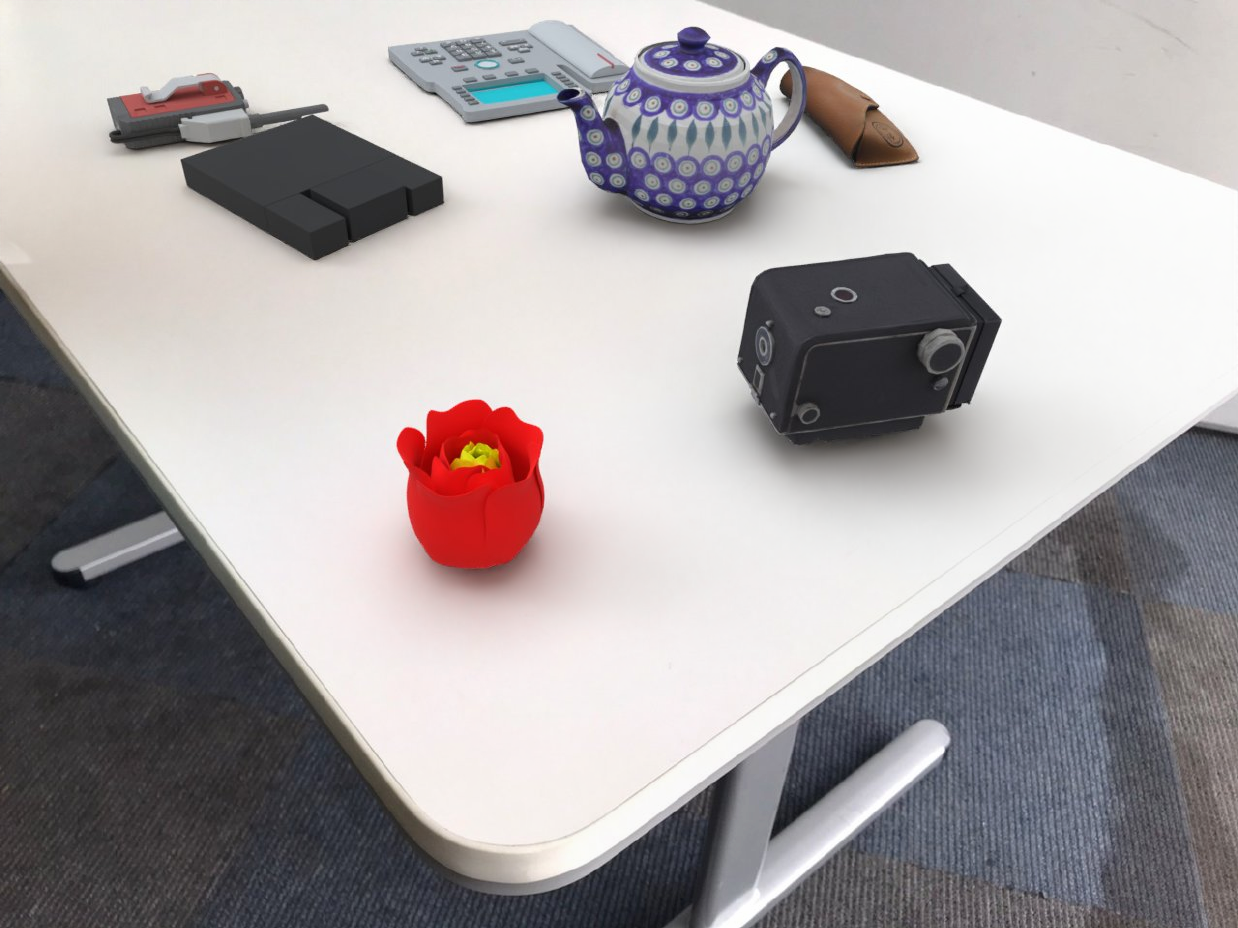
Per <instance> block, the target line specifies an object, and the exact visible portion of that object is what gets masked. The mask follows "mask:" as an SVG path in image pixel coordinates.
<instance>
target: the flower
mask: <svg viewBox="0 0 1238 928" xmlns="http://www.w3.org/2000/svg"><path fill="white" fill-rule="evenodd" d="M425 421H426V423H425V425H426V426H425V427H426V429H425V430H426V431H425V435H424V434H423V433H422V432H421V430H419V429H417V428H415V427H411V426H405V427H404V428H403V429H402V430H401V431H400V432H399V433H398V436H397V439H396V451H397V453H398V454H399V456H400V458H401V460H402V463H403V464H404V466H405V468H406V469H407V470H408V477H407V484H406V506H407V514H408V517H409V522H410V525H411V528H412V530H413V533H414V536H415V537H416V539H417V541H418V542H419V544H420V545H421V546H422V548H423V550H424V552H426V554H427V555H428V557H429V558H430V559H431V560H432V561H433V562H435V563H436V564H438V565H440V566H445V567H451V568H456V569H467V570H468V569H472V570H473V569H474V570H475V569H489V568H492V567H494V566H501V565H505V564H507V563H509V562H511V561H512V560H514V559H515V558H516V557H517V556H518V555H519V553H520V552H522V550H523V549H524V548H525V547H526V545H527V543H529V542H530V540H531V538H532V537H533V535H534V533H535V531H536V530H537V528H538V526H539V524H540V522H541V520H542V515H543V511H544V508H545V499H546V498H545V497H546V496H545V495H546V494H545V485H544V481H543V478H542V475H541V470H540V459H541V453H542V448H543V444H544V440H545V436H544V432H543V430H542V429H541V428H540V426H538V425H535V424H532V423H528V422H525V421H523V419H520V418H519V417H518V415H517V413H516V412H515V410H514V409H513V408H511V407H510V406H500V407H497V408H495V409H494V410H493V409H492V408H491V406H490V405H489V404H488V403H487V401H485V400H483V399H477V398H476V399H473V398H472V399H467V400H463V401H460V402H459V403H457V404H455V405H454V406H452V407H451V408H449V409H447V410H443V411H440V410H435V409H430V410H429V411H428V413H427V414H426V420H425Z"/></svg>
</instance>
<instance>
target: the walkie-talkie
mask: <svg viewBox="0 0 1238 928" xmlns="http://www.w3.org/2000/svg"><path fill="white" fill-rule="evenodd" d="M139 90H140V92H138V93H132V94H131V93H130V94H125V95H119V96H114V97H108V98H106V101H107V105H108V108H109V113H110V115H111V119H112V122H113V125H114V128H115V130H112V131H110V132H109V133H108V134H109V135H108V137H109V138H110V139H109V140H110V142H111V144H114V145H115V144H116V145H121V144H124V146H125V148H128V149H133V150H134V149H135V150H139V149H146V148H151V147H156V146H164V145H169V144H174V143H179V142H185V141H186V142H195V143H205V144H206V143H207V144H211V143H215V142H222V141H226V140H234V139H240V138H245V137H248V136H250V135H253V133H252V130H255V129H261V128H263V126H268V125H274V124H279V123H285V122H286V123H287V122H292V121H295V120H297V119H300V118H303V117H306V116H309V115H315V114H322V113H327V112H330V111H329V110H330V109H329V106H328V105H327V104H325V103H320V104H319V103H318V104H314V105H309V106H308V105H307V106H302V107H297V108H296V107H295V108H291V109H284V110H278V111H271V112H266V113H248V112H247V111H246V110H247V109H249V108H250V103H249V101H248V99H247V98H246V99H245V95H244V93H243V90H242V88H241V87H240V86H239V85H238V86H237V85H236V86H234V85H233V84H232V83H231V81H230V80H227V79H226V80H224V79H223V80H221V78H220V77H219V76H218V75H217V74H216V73H212V72H205V73H200V74H196V75H187V76H179V77H173V78H171V79H170V80H169V81H168V82H167V83H166V84H164V85H163V86H162V87H161V88H160V89H157V90H151V89H150V88H149V87H148V86H146V85H145V86H144V85H143V86H139Z"/></svg>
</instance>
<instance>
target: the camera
mask: <svg viewBox="0 0 1238 928" xmlns="http://www.w3.org/2000/svg"><path fill="white" fill-rule="evenodd" d="M1002 323H1003V319H1002V317H1001V316H1000V315H998V313H997V312H996V311H995V310H994V309H993V308H992V307H991V306H990V305H989V304H988V303H987V302H986V301H985V299H984V298H983V297H982V296H981V295H980V294H979V293H978V292H977V291H976V290H975V289H974V288H973V287H972V286H971V285H970V284H969V283H968V281H967V280H965V278H964V277H963V276H962V275H961V274H960V273H959V272H958V271H957V270H956V269H955V268H954V267H953V266H952V265H951V264H950V263H939V264H932V265H930V266H928V265H927V263H926V262H925V261H924V260H922V259H921V258H918V257H917V256H916V254H914V253H912V252H910V251H902V252H901V251H900V252H891V253H890V252H889V253H882V254H877V255H870V256H862V257H854V258H846V259H840V260H839V259H838V260H831V261H821V262H812V263H803V264H796V265H785V266H778V267H769V268H768V269H765V270H763V271H762V272H760V273H759V274H758V275H756V276H755V278H754V280H753V281H752V284H751V286H750V291H749V295H748V301H747V304H746V310H745V316H744V321H743V328H742V334H741V338H740V343H739V348H738V353H737V357H736V366H737V369H738V370H739V372H740V374H741V376H742V377H743V378H744V380H745V382H746V384H747V385H748V388H749V389H750V395H751V397H752V399H753V401H754V402H755V404H756V406H757V407H761V408H762V410H763V412H764V413H765V415H766V418H767V419H768V420H769V422H770V424H771V426H772V427H773V430H774V431H775V432H776V433H777V434H778V435H779V436H785V437H786V438H787V439H788V440H789V441H790V442H791V443H792V444H793V445H797V446H803V445H809V444H812V443H813V442H815V441H818V440H820V441H822V442H823V443H826V444H828V443H829V442H834V441H841V440H848V439H855V438H856V439H857V438H864V437H871V436H881V435H888V434H896V433H901V432H903V433H904V432H908V431H915V430H916V431H917V430H920V428H921V427H922V425H923V422H924V420H925V417H927V416H928V417H929V416H934V415H940V414H944V413H946V412H948V411H953V410H956V409H960V408H961V407H962V405H964V404H967V405H971V402H972V399H973V397H974V395H975V391H976V389H977V387H978V384H979V381H980V379H981V376H982V373H983V371H984V369H985V366H986V364H987V361H988V358H989V356H990V353H991V351H992V348H993V345H994V343H995V340H996V338H997V335H998V333H999V330H1000V327H1001V325H1002Z"/></svg>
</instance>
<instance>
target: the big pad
mask: <svg viewBox="0 0 1238 928" xmlns="http://www.w3.org/2000/svg"><path fill="white" fill-rule="evenodd" d="M180 164H181V167H182V172H183V176H184V180H185V184H186V186H187V187H188V188H190V189H192V190H193V191H195V192H197V193H199V194H200V195H202V196H204V197H205V198H207V199H209V200H211V201H212V202H214V203H216V204H217V205H219V206H220V207H223V208H224V209H226V210H227V211H230V212H231V213H233V214H235V215H236V216H238V217H240V218H241V219H242V220H245V221H246V222H248V223H250V224H252V225H253V226H255V227H257V228H259V229H260V230H262V231H264V232H265V233H267V234H270V235H271V236H273V237H274V238H275V239H277V240H280V241H281V242H283V243H284V244H286V245H288V246H290V247H291V248H293V249H295V250H297V251H298V252H300V253H302V254H304V255H305V256H307V257H309V258H310V259H312V260H313V261H315V260H319V259H320V258H323V257H326V256H327V255H329V254H331V253H333V252H336V251H339V250H340V249H341V250H342V249H343V248H345V247H347V246H349V245H350V243H349V242H350V240H348V234H347V227H346V220H345V218H344V217H343V216H341V215H339V214H337V213H335V212H333V211H332V210H330V209H328V208H326V207H324V206H322V205H320V204H319V203H317V202H315V201H313V200H312V198H311V192H310V189H311V188H313V187H316V186H318V185H321V184H324V183H326V182H329V181H331V180H334V179H336V178H339V177H341V176H344V175H346V174H349V173H351V172H354V171H356V170H359V169H362V168H364V167H369V168H371V169H373V170H375V171H377V172H379V173H381V174H383V175H385V176H387V177H389V178H391V179H393V180H395V181H397V182H399V183H401V184H403V185H405V189H406V200H407V210H408V214H410V215H412V216H417V215H419V214H422V213H424V212H426V211H430V210H431V209H433V208H435V207H438V206H441V205H442V204H444V203H445V198H444V197H445V196H444V185H443V184H444V183H443V175H442V176H441V175H440V174H438V173H436V172H433V171H431V170H429V169H427V168H425V167H423V166H420V165H419V164H417V163H414V162H413V161H410V160H409V159H407V158H404V157H402V156H400V155H398V154H396V153H395V152H392V151H390V150H388V149H386V148H383V147H381V146H379V145H377V144H375V143H373V142H371V141H369V140H367V139H365V138H362V137H360V136H358V135H356V134H354V133H352V132H350V131H348V130H347V129H344V128H342V127H340V126H337V125H336V124H333V123H331V122H330V121H327V120H325V119H323V118H322V117H319V116H317V115H315V114H311V115H306V116H302V118H300V119H297V120H292V121H288V122H286V123H284V124H280V125H277V126H274V127H272V128H268V129H265V130H262V131H259V132H256V133H252V135H250V136H248V137H241V138H238V139H236V140H233V141H230V142H227V143H225V144H222V145H218V146H216V147H212V148H210V149H207V150H203V151H201V152H197V153H194V154H191V155H189V156H187V157H186V156H185V157H183V158H181V159H180Z"/></svg>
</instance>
